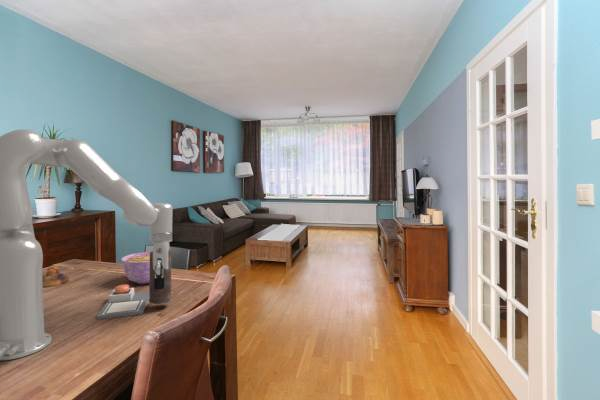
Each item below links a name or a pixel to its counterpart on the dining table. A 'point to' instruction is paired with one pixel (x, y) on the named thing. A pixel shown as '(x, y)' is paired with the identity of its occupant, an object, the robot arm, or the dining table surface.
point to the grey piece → (124, 304)
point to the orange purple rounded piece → (53, 278)
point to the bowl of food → (137, 267)
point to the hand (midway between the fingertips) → (160, 284)
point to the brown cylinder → (164, 294)
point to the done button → (121, 289)
